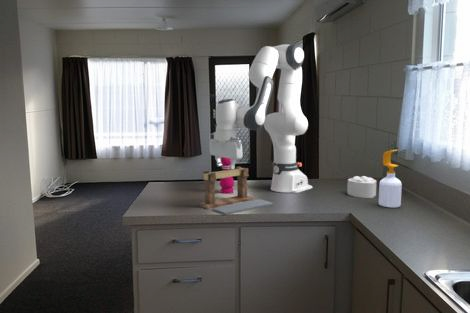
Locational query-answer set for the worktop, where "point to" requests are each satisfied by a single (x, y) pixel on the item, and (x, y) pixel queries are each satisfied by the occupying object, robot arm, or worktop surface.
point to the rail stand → (213, 203)
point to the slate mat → (242, 206)
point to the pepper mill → (228, 181)
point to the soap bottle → (390, 185)
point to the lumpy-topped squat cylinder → (362, 187)
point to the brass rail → (225, 173)
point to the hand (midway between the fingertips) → (225, 167)
